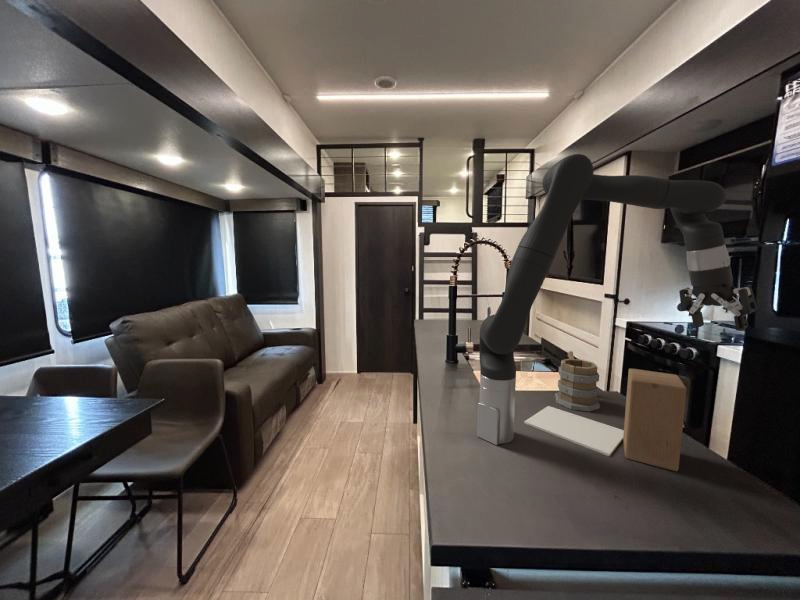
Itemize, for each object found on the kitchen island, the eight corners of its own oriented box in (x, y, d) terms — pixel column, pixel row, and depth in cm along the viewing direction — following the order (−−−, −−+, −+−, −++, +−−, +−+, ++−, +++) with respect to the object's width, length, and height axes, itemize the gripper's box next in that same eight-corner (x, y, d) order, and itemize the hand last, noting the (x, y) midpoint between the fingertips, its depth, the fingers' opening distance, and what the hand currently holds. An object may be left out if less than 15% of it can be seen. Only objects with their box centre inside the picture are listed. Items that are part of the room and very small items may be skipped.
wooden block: (678, 472, 73) (687, 387, 70) (624, 458, 78) (631, 379, 76) (671, 451, 81) (678, 374, 79) (622, 439, 86) (628, 367, 84)
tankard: (602, 413, 101) (606, 367, 100) (558, 408, 105) (560, 363, 104) (588, 390, 120) (590, 351, 118) (551, 386, 124) (553, 348, 123)
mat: (609, 456, 79) (609, 454, 79) (524, 423, 95) (524, 421, 95) (627, 433, 89) (627, 431, 89) (548, 407, 106) (548, 405, 106)
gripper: (666, 271, 86) (678, 329, 87) (734, 266, 72) (746, 336, 73) (686, 264, 87) (697, 321, 89) (756, 258, 74) (767, 326, 75)
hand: (719, 328), depth 81 cm, fingers open, 8 cm apart
